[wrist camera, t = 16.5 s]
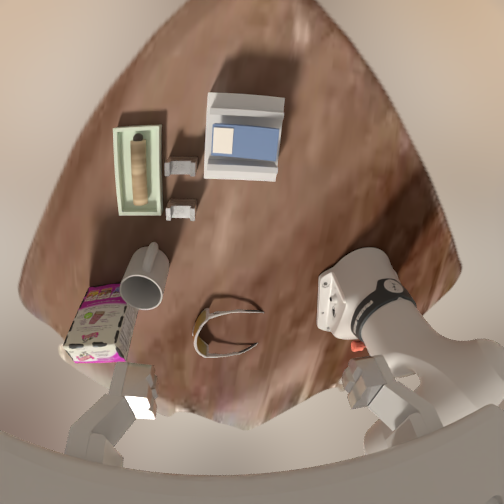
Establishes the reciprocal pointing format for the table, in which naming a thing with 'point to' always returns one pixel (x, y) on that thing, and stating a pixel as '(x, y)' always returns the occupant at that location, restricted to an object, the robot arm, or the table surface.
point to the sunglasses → (201, 320)
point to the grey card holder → (242, 113)
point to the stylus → (139, 170)
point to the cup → (145, 278)
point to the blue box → (245, 141)
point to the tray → (123, 169)
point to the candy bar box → (101, 327)
